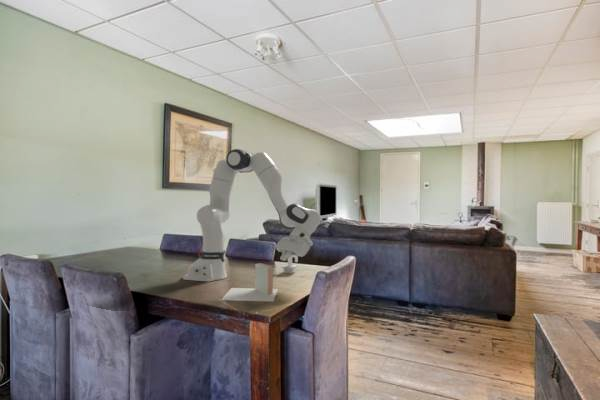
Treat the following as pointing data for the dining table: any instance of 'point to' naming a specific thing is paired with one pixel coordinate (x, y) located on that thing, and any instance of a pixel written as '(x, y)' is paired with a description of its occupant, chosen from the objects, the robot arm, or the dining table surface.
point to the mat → (248, 295)
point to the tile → (264, 278)
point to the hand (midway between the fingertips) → (282, 259)
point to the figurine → (290, 265)
